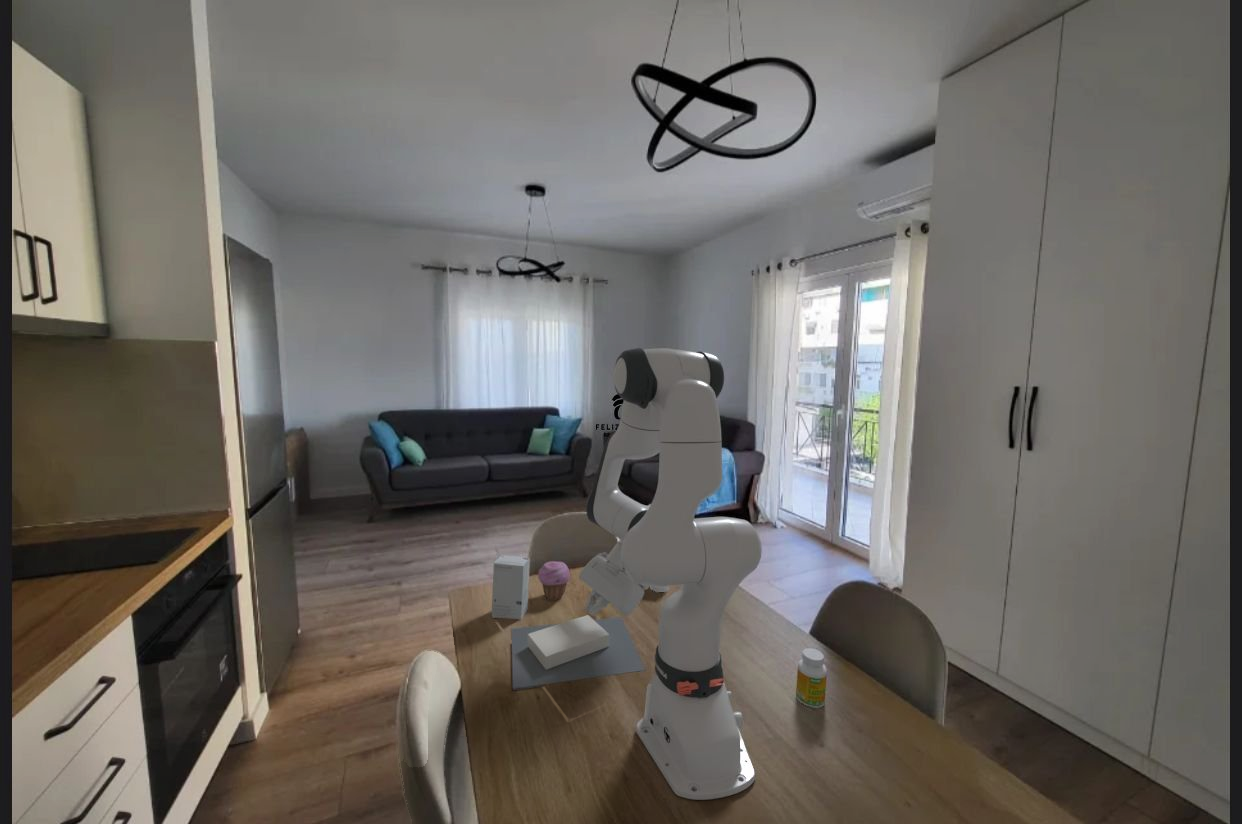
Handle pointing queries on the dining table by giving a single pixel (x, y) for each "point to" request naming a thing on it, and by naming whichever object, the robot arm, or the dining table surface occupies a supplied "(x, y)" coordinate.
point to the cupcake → (554, 579)
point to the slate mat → (595, 664)
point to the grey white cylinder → (659, 588)
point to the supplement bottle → (811, 678)
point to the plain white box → (567, 641)
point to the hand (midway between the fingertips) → (588, 612)
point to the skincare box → (510, 587)
